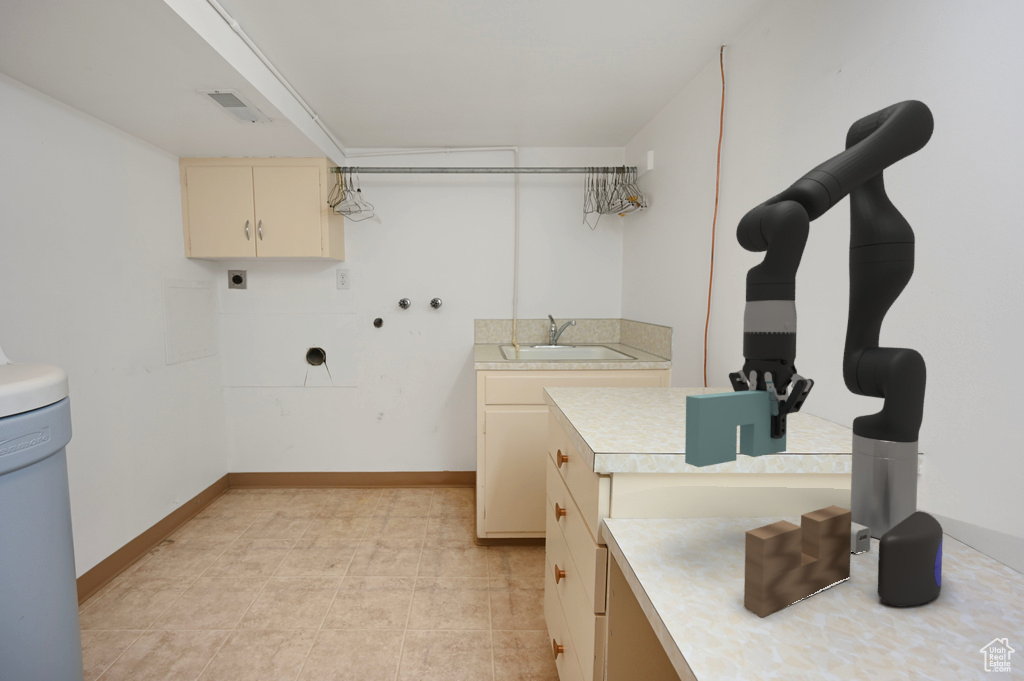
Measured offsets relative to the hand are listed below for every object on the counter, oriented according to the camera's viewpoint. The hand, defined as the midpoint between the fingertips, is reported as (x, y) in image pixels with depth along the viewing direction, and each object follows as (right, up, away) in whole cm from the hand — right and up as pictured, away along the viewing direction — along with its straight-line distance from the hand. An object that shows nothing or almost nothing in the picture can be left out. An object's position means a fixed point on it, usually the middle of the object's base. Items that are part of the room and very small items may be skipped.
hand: (767, 435), depth 75 cm
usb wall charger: (+14, -19, +3) cm, 24 cm away
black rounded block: (+14, -20, -10) cm, 26 cm away
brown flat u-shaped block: (-2, -19, -11) cm, 22 cm away
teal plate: (-6, -3, -3) cm, 7 cm away
